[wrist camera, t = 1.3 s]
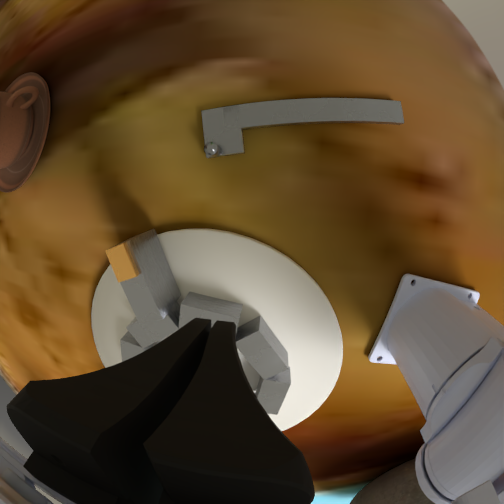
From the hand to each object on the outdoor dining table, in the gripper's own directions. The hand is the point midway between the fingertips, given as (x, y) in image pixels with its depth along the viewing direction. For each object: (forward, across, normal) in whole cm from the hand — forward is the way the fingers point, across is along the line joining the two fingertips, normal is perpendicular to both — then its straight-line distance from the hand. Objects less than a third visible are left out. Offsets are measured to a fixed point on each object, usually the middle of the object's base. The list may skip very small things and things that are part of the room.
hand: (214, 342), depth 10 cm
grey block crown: (+8, +2, +7) cm, 11 cm away
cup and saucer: (+10, +23, -11) cm, 27 cm away
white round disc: (+9, +2, +9) cm, 13 cm away
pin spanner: (+10, -4, -10) cm, 14 cm away
